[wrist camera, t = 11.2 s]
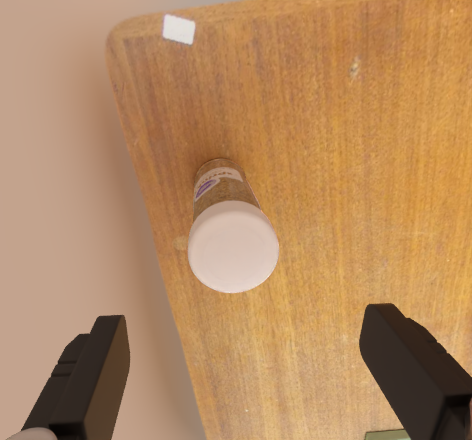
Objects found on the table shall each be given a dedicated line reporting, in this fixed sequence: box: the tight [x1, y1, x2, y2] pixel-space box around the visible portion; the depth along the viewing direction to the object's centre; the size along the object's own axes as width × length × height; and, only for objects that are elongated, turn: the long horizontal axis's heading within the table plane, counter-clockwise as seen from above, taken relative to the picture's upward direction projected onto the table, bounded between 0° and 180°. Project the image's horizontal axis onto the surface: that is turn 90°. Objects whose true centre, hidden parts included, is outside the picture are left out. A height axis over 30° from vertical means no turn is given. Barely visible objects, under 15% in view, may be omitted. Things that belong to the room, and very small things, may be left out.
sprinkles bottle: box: [188, 158, 279, 293], centre depth 22 cm, size 5×5×13 cm
